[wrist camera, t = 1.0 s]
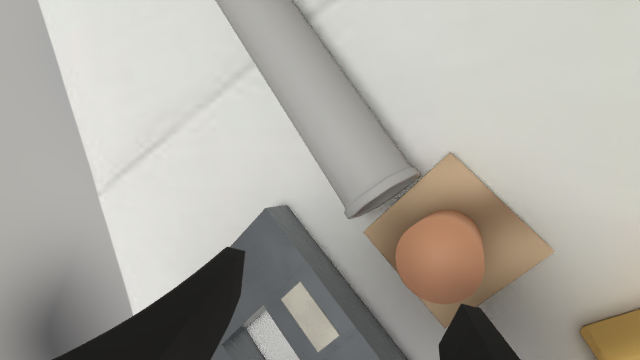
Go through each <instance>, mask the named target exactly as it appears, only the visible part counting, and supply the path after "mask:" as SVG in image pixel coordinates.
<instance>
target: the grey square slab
mask: <svg viewBox="0 0 640 360" xmlns="http://www.w3.org/2000/svg"><path fill="white" fill-rule="evenodd" d="M231 248H235V249H239V250H243V251H245V260H244V269H243V279H242V288H241V296H240V299H239V301H238V304H237V306H236V309H235V311H234V314H233V316H232V319H231V321H230V324H229V326H228V328H227V330H226V332H225V334H224V335H223V337H222V339H221V341H220V343H219V345H218V347H217V349H216V351H215V352H214V354H213V356H212V358H211V360H265V359H264V357H263V356H262V354H261V353H260V351H259V349H258V348H257V346H256V345H255V343H254V342H253V340H252V338H251V337H250V335H249V334H248V332H247V331H246V328H247V327H248V326H249V325H250V324H251V323H252V322H254V321H255V320H256V319H257V318H258V317H259V316H260V315H261V314H262V313H263V312H264V311H265V310H267V311H268V313H269V314H270V316H271V317H272V319H273V320H274V322H275V323H276V325H277V326H278V328H279V329H280V331H281V332H282V334H283V335H284V337H285V338H286V340H287V341H288V343H289V344H290V346H291V347H292V349H293V350H294V352H295V353H296V354H297V356H298V357H299V359H300V360H407V359H406V357H405V356H404V355H403V353H402V352H401V351H400V350H399V348H398V347H397V346H396V344H395V343H394V342H393V341H392V339H391V338H390V337H389V336H388V334H387V333H386V332H385V330H384V329H383V328H382V327H381V325H380V324H379V323H378V321H377V320H376V319H375V318H374V316H373V315H372V314H371V313H370V311H369V310H368V309H367V307H366V306H365V305H364V304H363V302H362V301H361V300H360V298H359V297H358V296H357V295H356V293H355V292H354V291H353V290H352V288H351V287H350V286H349V284H348V283H347V282H346V281H345V279H344V278H343V277H342V275H341V274H340V273H339V272H338V270H337V269H336V268H335V267H334V265H333V264H332V263H331V261H330V260H329V259H328V258H327V256H326V255H325V254H324V252H323V251H322V250H321V249H320V247H319V246H318V245H317V243H316V242H315V241H314V240H313V238H312V237H311V236H310V235H309V233H308V232H307V231H306V229H305V228H304V227H303V226H302V224H301V223H300V222H299V220H298V219H297V218H296V217H295V215H294V214H293V213H292V212H291V210H290V209H289V208H288V206H287V205H285V206H277V207H270V208H265V209H264V210H263V212H262V213H261V214H260V215H259V216H258V217H257V218H256V219H255V220H254V221H253V222H252V224H251V225H250V226H249V227H248V228H247V229H246V230H245V231H244V232H243V233H242V234H241V236H240V237H239V238H238V239H237V240H236V241H235V242H234V243H233V244H232V245H231Z"/></svg>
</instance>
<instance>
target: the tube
mask: <svg viewBox="0 0 640 360" xmlns="http://www.w3.org/2000/svg"><path fill="white" fill-rule="evenodd" d="M216 2H217V4H218V5H219V7H220V8H221V10H222V12H223V13H224V15H225V16H226V18H227V20H228V21H229V23H230V24H231V26H232V28H233V29H234V31H235V32H236V34H237V36H238V37H239V39H240V40H241V42H242V44H243V45H244V47H245V48H246V50H247V52H248V53H249V55H250V56H251V58H252V60H253V61H254V63H255V64H256V66H257V67H258V69H259V71H260V72H261V74H262V75H263V77H264V79H265V80H266V82H267V83H268V85H269V87H270V88H271V90H272V91H273V93H274V95H275V96H276V98H277V99H278V101H279V103H280V104H281V106H282V107H283V109H284V111H285V112H286V114H287V115H288V117H289V119H290V120H291V122H292V123H293V125H294V127H295V128H296V130H297V131H298V133H299V135H300V136H301V138H302V139H303V141H304V142H305V144H306V146H307V147H308V149H309V150H310V152H311V154H312V155H313V157H314V158H315V160H316V162H317V163H318V165H319V166H320V168H321V170H322V171H323V173H324V174H325V176H326V178H327V179H328V181H329V182H330V184H331V186H332V187H333V189H334V190H335V192H336V194H337V195H338V197H339V198H340V200H341V202H342V203H343V205H344V207H345V211H344V213H345V215H346V217H347V219H351V218H355V217H359V216H361V215H363V214H365V213H367V212H369V211H371V210H373V209H374V208H376V207H378V206H380V205H382V204H383V203H385V202H386V201H388V200H389V199H391V198H392V197H393V196H395V195H396V194H398V193H399V192H401V191H402V190H404V189H405V188H406V187H408V186H409V185H410V184H411V183H413V182H414V181H415V180H416V179H418V178H419V177H420V176H421V174H420V172H419V171H418V170H417V169H416V168H412V167H411V166H410V165H409V163H408V162H407V161H406V159H405V158H404V157H403V155H402V154H401V152H400V151H399V150H398V148H397V147H396V145H395V144H394V143H393V141H392V140H391V138H390V137H389V136H388V134H387V133H386V131H385V130H384V129H383V127H382V126H381V124H380V123H379V122H378V120H377V119H376V117H375V116H374V115H373V113H372V112H371V110H370V109H369V108H368V106H367V105H366V103H365V102H364V101H363V99H362V98H361V96H360V95H359V94H358V92H357V91H356V90H355V88H354V87H353V85H352V84H351V83H350V81H349V80H348V78H347V77H346V76H345V74H344V73H343V71H342V70H341V69H340V67H339V66H338V64H337V63H336V62H335V60H334V59H333V57H332V56H331V55H330V53H329V52H328V50H327V49H326V48H325V46H324V45H323V43H322V42H321V41H320V39H319V38H318V36H317V35H316V34H315V32H314V31H313V29H312V28H311V27H310V25H309V24H308V22H307V21H306V20H305V18H304V17H303V16H302V14H301V13H300V11H299V10H298V9H297V7H296V6H295V4H294V3H293V2H292V0H216Z"/></svg>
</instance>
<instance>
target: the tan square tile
mask: <svg viewBox="0 0 640 360" xmlns="http://www.w3.org/2000/svg"><path fill="white" fill-rule="evenodd" d="M438 210H455V211H458V212H461V213H463V214H465V215H467V216H468V217H469V218H471V219H472V220H473V221H474V222H475V224H476V225H477V226H478V228H479V230H480V232H481V235H482V240H483V251H484V263H485V270H484V276H483V279H482V282H481V284H480V286H479V287H478V289H477V290H476V291H475V292H474V293H473V294H472V295H471V296H470V297H468V298H466V299H465V300H463V301H460V302H457V303H453V304H436V303H432V302H429V301H426V300H424V299H422V298H420V297H419V298H420V300H421V301H422V302H423V303H424V304H425V305H426V307H427V308H428V309H429V310H430V311H431V313H432V314H433V315H434V316H435V317H436V318H437V320H438V321H439V322H440V323H441V324H442V325H443V327H444V328H447V327H448V326H449V325H450V323H451V321H452V319H453V318H454V316H455V314H456V312H457V310H458V308H459V306H460V305H461V304H465V305H469V306H473V307H477V306H478V305H479V304H481V303H482V302H484V301H485V300H487V299H488V298H489V297H491V296H492V295H494V294H495V293H497V292H498V291H499V290H501V289H502V288H504V287H505V286H507V285H508V284H509V283H511V282H512V281H514V280H515V279H517V278H518V277H519V276H521V275H522V274H524V273H525V272H527V271H528V270H529V269H531V268H532V267H534V266H535V265H537V264H538V263H539V262H541V261H542V260H544V259H545V258H547V257H548V256H549V255H551V254H552V253H554V252H555V251H554V250H553V249H552V248H551V247H549V246H548V245H547V244H546V243H545V242H544V241H543V240H542V239H541V238H540V237H539V236H538V235H537V234H536V233H535V232H534V231H533V230H532V229H531V228H529V227H528V226H527V225H526V224H525V223H524V222H523V221H522V220H521V219H520V218H519V217H518V216H517V215H516V214H515V213H514V212H513V211H512V210H511V209H509V208H508V207H507V206H506V205H505V204H504V203H503V202H502V201H501V200H500V199H499V198H498V197H497V196H496V195H495V194H494V193H493V192H492V191H491V190H489V189H488V188H487V187H486V186H485V185H484V184H483V183H482V182H481V181H480V180H479V179H478V178H477V177H476V176H475V175H474V174H473V173H472V172H471V171H469V170H468V169H467V168H466V167H465V166H464V165H463V164H462V163H461V162H460V161H459V160H458V159H457V158H456V157H455V156H454V155H453V154H452V153H451V152H450V153H449V154H448V155H447V156H446V157H445V158H444V159H443V160H442V161H441V162H439V163H438V164H437V165H436V166H435V167H434V168H433V169H432V170H431V171H430V172H429V173H427V174H426V175H425V176H424V177H423V178H422V179H421V180H420V181H419V182H418V183H416V184H415V185H414V186H413V187H412V188H411V189H410V190H409V191H408V192H407V193H406V194H404V195H403V196H402V197H401V198H400V199H399V200H398V201H397V202H396V203H395V204H393V205H392V206H391V207H390V208H389V209H388V210H387V211H386V212H385V213H384V214H383V215H381V216H380V217H379V218H378V219H377V220H376V221H375V222H374V223H373V224H372V225H370V226H369V227H368V228H367V229H366V230H365V231H364V234H365V235H366V236H367V237H368V238H369V239H370V241H371V242H372V243H373V244H374V245H375V247H376V248H377V249H378V250H379V251H380V252H381V254H382V255H383V256H384V257H385V258H386V260H387V261H388V262H389V263H390V264H391V265H392V267H393V268H394V269H395V270H396V271H397V272H398V270H397V267H396V259H395V255H396V248H397V245H398V242H399V240H400V238H401V237H402V235H403V234H404V233H405V232H406V231H407V230H408V229H409V228H410V227H412V226H413V225H414V224H416V223H417V222H419V221H420V220H422V219H423V218H425V217H426V216H427V215H429V214H431V213H433V212H435V211H438ZM398 274H399V273H398Z"/></svg>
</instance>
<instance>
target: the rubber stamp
mask: <svg viewBox="0 0 640 360" xmlns="http://www.w3.org/2000/svg"><path fill="white" fill-rule="evenodd" d="M580 333H581V335H582V336H583V338H584V339H585V341H586V342H587V344H588V346H589V347H590V349H591V350H592V352H593V353H594V355H595V356H596V358H597V360H640V309H639V310H636V311H632V312H629V313H626V314H623V315H619V316H616V317H613V318H610V319H606V320H603V321H600V322H596V323H593V324H590V325H587V326H584V327H583V328H582V329H581V330H580Z"/></svg>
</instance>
